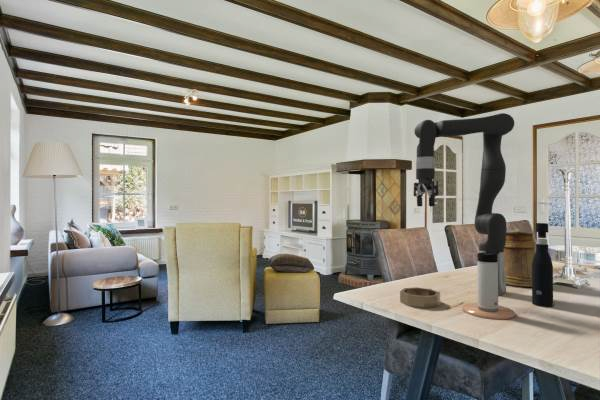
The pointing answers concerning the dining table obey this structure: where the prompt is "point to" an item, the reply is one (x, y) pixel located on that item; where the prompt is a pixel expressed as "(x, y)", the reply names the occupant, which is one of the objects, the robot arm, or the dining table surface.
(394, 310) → the dining table surface
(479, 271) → the travel mug
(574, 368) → the dining table surface
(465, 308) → the coaster
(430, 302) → the collar ring
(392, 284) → the dining table surface
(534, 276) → the black water bottle
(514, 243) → the tankard
